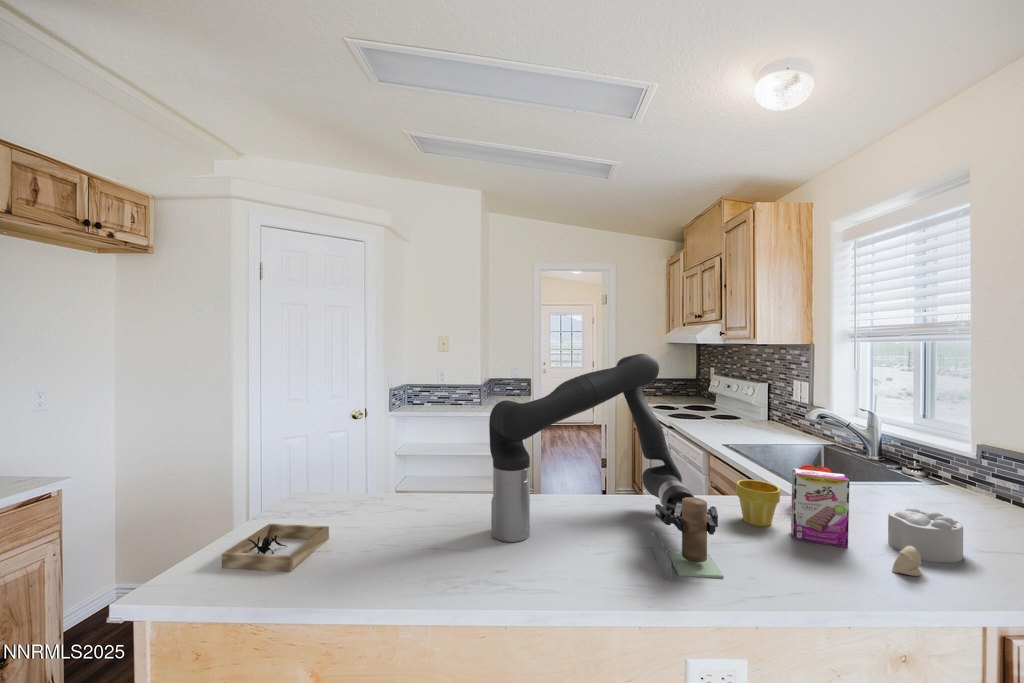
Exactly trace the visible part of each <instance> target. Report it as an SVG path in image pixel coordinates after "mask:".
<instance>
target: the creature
mask: <svg viewBox="0 0 1024 683" xmlns="http://www.w3.org/2000/svg"><path fill="white" fill-rule="evenodd" d="M268 533H269V532H268ZM268 536H269V534H268ZM268 536H267V537H265V538H264V540H263V542H262V543H261V544H260V545H259V539H260V536H259V537H258V542H257V544H256V543H255V542H254V541H252V540H250V539H248V540H249V541H251V542H252V543H253V544H254V545H255V546H254V547H252V548H250V550H251V551H253V550H254V549H257V554H266V553H268V552H269V551H271V555H275V552H276V551H277V550H278V549H280V547H288V546H287V545H286V544H282V543H280V542H279V541H278V540H277V539H278V537H277V535H275V537H270V538H268ZM274 542H275V544H276V545H278V546H280V547H278V548H275V549H271V548H270V547H271V546H272V543H274ZM253 548H254V549H253Z"/></svg>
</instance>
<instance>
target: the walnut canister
mask: <svg viewBox="0 0 1024 683" xmlns="http://www.w3.org/2000/svg"><path fill="white" fill-rule="evenodd" d="M694 497H695V496H694ZM694 497H686V498H683V499H682V519H683V520H684V521H685V523H686V533H682V532H681V553H682V556H683V557H684V558H685V559H687V560H689V561H692V562H705V561H706V560H707V554H708V531H707V509H708V501H707V500H705V499H703V498H698V497H695V498H694Z"/></svg>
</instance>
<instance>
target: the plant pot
mask: <svg viewBox="0 0 1024 683" xmlns="http://www.w3.org/2000/svg"><path fill="white" fill-rule="evenodd" d="M735 486H736V487H735V488H736V489H735V490H736V491H735V492H736V493H735V494H736V496H737V497H738V498H739V504H740V508H741V513H742V518H743V522H744V521H745V523H747V524H750V525H753V526H757V527H770V526H771V525H772V522H773V520H774V519H773V518H774V515H775V511H776V507H777V504H779V503H780V499H781V489H780V487H779V486H777V485H776V484H773V483H771V482H768V481H764V480H759V479H758V480H757V479H740V480H738V481H736V485H735Z"/></svg>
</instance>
